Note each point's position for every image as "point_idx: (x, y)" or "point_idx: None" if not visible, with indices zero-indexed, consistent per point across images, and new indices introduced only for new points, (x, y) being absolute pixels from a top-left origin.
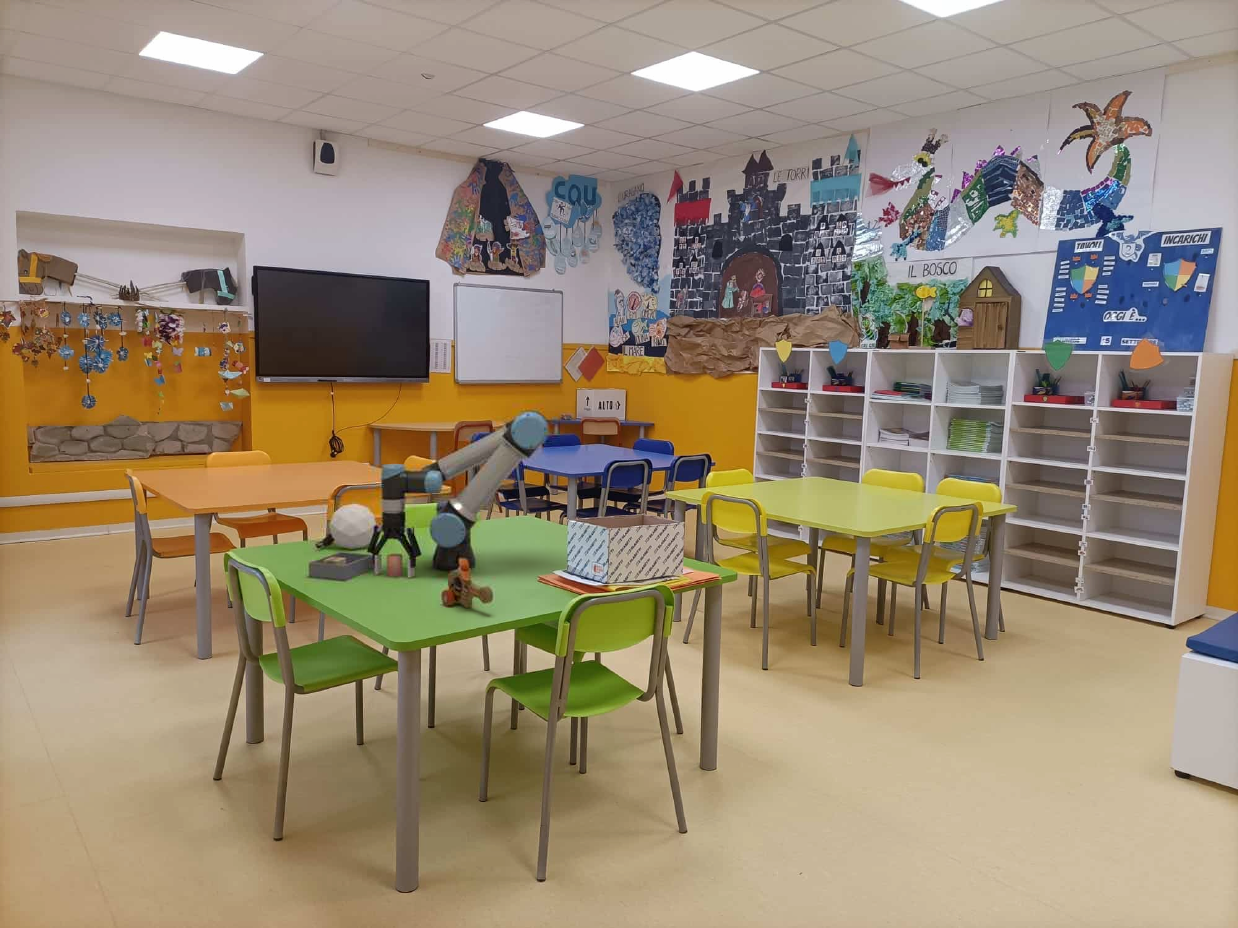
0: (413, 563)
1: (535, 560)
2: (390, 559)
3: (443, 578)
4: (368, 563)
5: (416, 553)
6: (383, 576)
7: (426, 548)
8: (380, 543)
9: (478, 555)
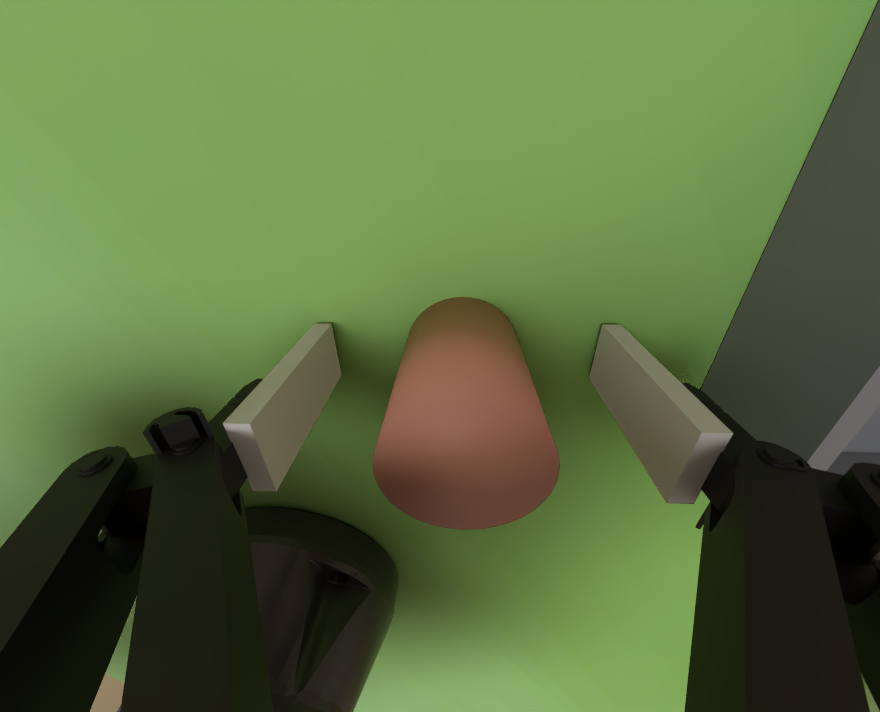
0: (232, 404)
1: (126, 654)
2: (465, 379)
3: (137, 390)
4: (748, 428)
5: (62, 483)
6: (535, 309)
7: (562, 691)
8: (785, 644)
9: None
